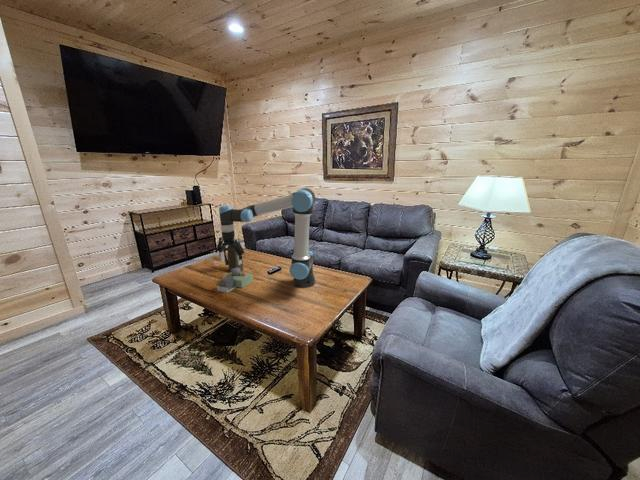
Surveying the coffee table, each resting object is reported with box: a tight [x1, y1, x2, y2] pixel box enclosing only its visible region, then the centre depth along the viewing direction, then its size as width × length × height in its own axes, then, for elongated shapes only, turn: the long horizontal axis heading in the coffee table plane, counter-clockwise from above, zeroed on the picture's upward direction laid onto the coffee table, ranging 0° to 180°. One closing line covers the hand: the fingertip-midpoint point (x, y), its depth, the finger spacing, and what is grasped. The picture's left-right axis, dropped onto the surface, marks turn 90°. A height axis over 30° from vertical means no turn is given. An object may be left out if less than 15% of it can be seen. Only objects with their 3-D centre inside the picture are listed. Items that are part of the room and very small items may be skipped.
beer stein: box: [222, 245, 244, 273], centre depth 200 cm, size 15×11×20 cm
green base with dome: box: [216, 268, 254, 294], centre depth 176 cm, size 16×22×9 cm
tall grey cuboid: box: [219, 276, 234, 290], centre depth 171 cm, size 5×7×7 cm
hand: (231, 262), depth 169 cm, fingers open, 13 cm apart
